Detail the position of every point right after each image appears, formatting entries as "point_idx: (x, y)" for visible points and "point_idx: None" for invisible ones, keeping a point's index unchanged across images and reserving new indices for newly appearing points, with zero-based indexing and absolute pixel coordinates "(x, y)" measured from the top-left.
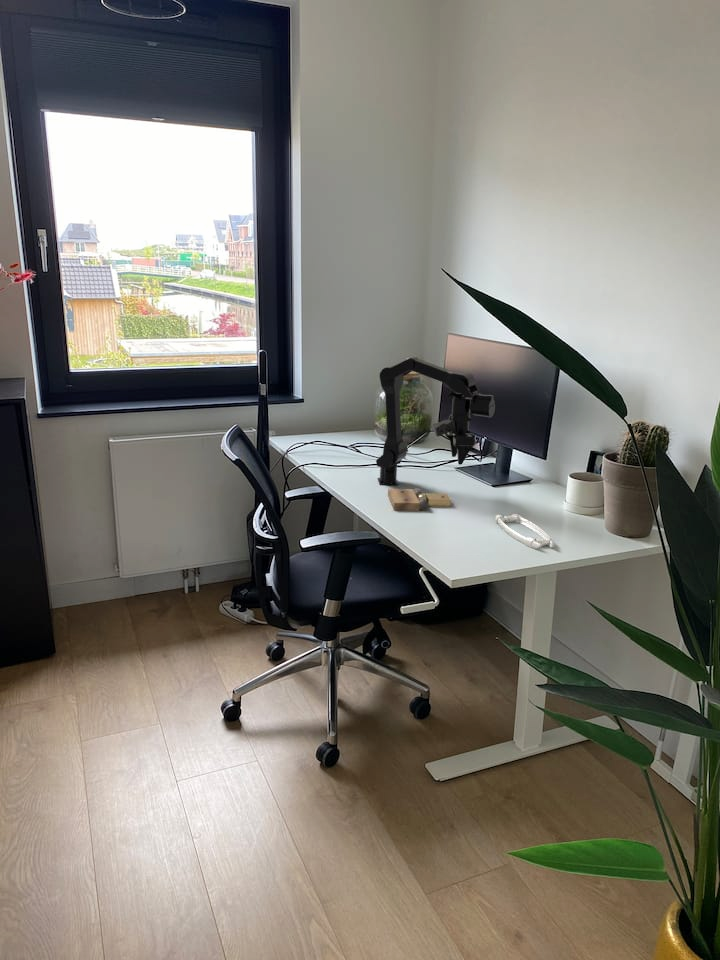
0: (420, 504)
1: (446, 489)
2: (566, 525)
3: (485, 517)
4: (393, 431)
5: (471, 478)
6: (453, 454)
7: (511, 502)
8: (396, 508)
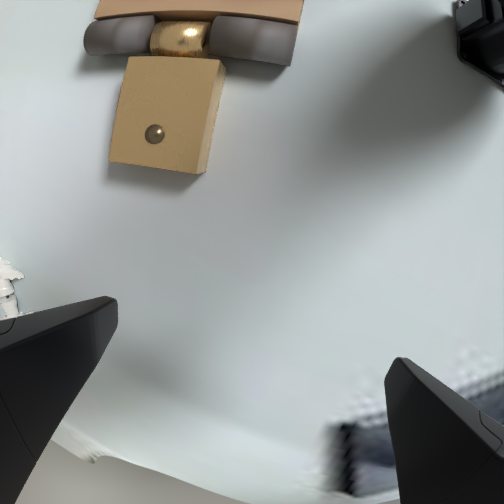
0: (96, 21)
1: (370, 248)
2: None
3: (31, 249)
4: None
5: None
6: (399, 379)
7: (165, 402)
8: None
